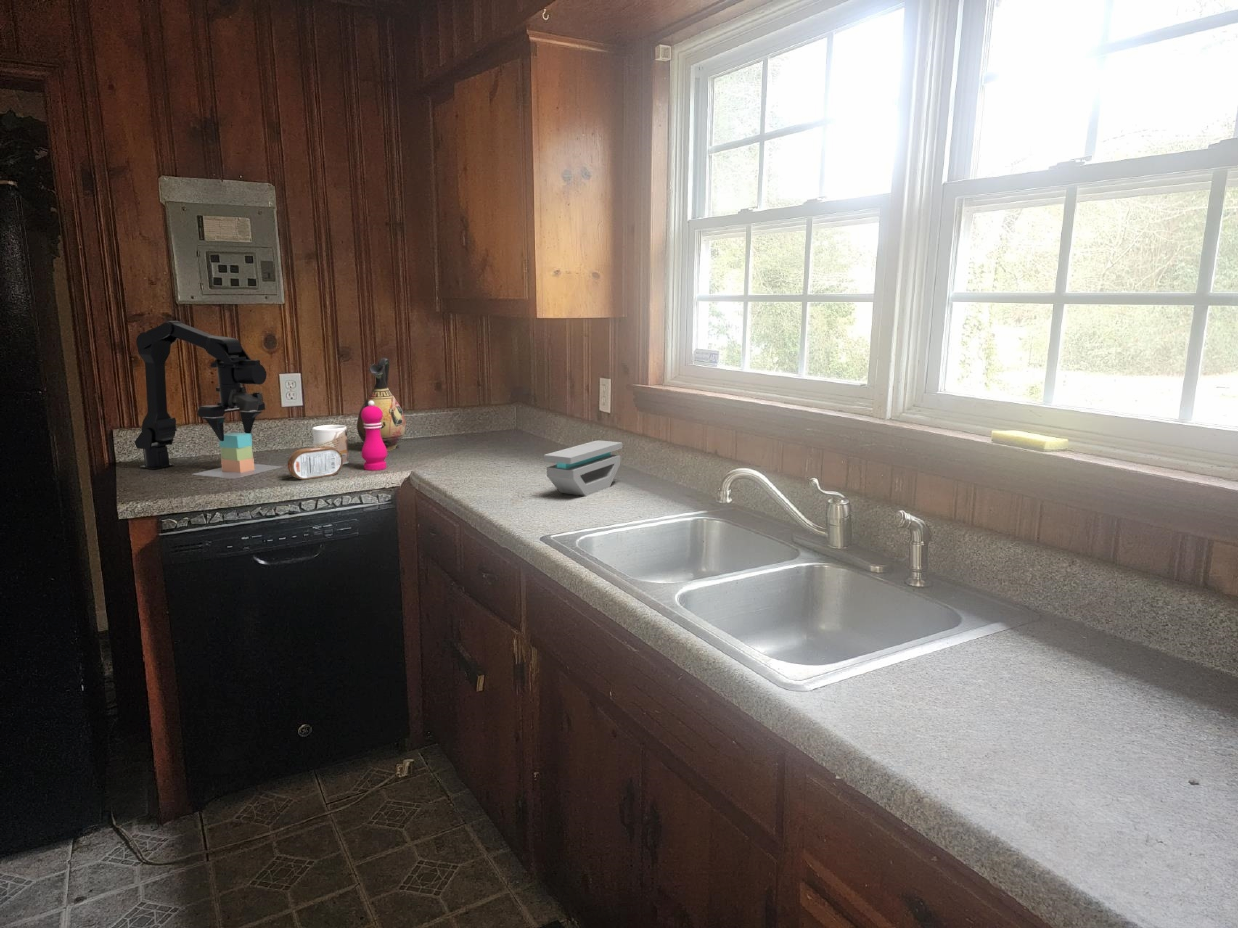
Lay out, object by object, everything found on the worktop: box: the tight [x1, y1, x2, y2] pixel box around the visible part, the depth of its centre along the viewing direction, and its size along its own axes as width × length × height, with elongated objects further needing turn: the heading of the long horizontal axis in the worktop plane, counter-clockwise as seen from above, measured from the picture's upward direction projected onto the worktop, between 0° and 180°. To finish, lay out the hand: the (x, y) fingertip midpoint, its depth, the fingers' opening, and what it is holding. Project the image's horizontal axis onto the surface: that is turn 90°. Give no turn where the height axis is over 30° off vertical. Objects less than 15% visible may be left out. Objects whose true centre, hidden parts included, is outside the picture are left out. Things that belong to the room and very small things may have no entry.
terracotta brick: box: [220, 457, 255, 473], centre depth 231 cm, size 7×5×4 cm
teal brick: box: [218, 431, 253, 448], centre depth 230 cm, size 7×5×4 cm
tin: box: [287, 446, 344, 481], centre depth 224 cm, size 15×3×8 cm, turn 134°
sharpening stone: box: [543, 439, 623, 497], centre depth 207 cm, size 25×8×11 cm, turn 150°
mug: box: [311, 424, 350, 465], centre depth 245 cm, size 10×12×11 cm
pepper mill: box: [361, 401, 388, 471], centre depth 234 cm, size 7×7×20 cm
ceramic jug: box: [356, 357, 407, 452], centre depth 266 cm, size 17×15×30 cm
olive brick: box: [219, 445, 254, 461], centre depth 230 cm, size 7×5×4 cm
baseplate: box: [191, 463, 283, 480], centre depth 231 cm, size 16×18×1 cm
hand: (235, 438), depth 229 cm, fingers open, 9 cm apart
